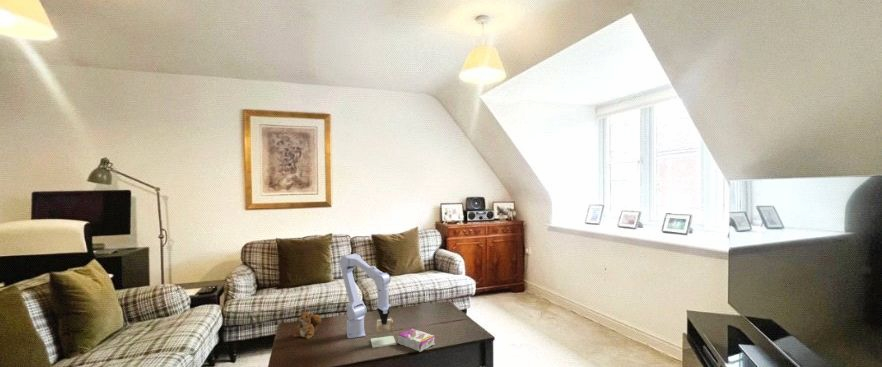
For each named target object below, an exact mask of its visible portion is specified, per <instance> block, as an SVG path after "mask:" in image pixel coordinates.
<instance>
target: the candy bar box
mask: <svg viewBox="0 0 882 367" xmlns="http://www.w3.org/2000/svg"><path fill="white" fill-rule="evenodd" d="M435 341H436V340H435V335H434V334H430V333H427V332H424V331H421V330H418V329H415V328H413V327H412V328H410V329H408V330H405V331H403V332H401V333H398V334H397V344H398V345H401V346H403V347H406V348H408V349H412V350H414V351H417V352H419V353H421V352H423V351H424V350H426V349H429V348H430V347H433V346H435V345H436V344H435V343H436V342H435Z"/></svg>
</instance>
